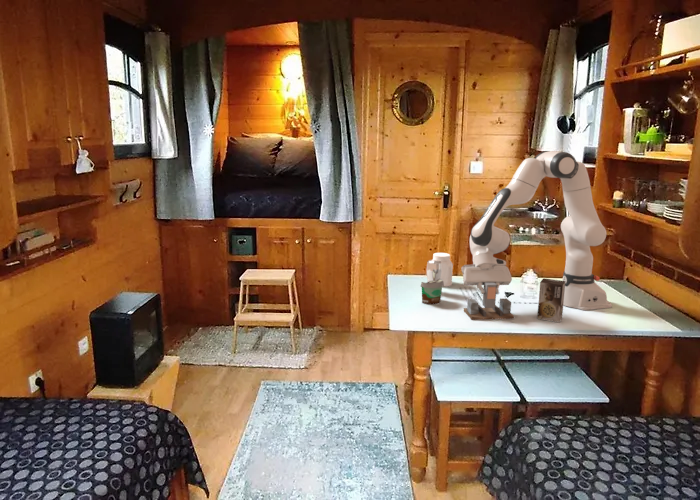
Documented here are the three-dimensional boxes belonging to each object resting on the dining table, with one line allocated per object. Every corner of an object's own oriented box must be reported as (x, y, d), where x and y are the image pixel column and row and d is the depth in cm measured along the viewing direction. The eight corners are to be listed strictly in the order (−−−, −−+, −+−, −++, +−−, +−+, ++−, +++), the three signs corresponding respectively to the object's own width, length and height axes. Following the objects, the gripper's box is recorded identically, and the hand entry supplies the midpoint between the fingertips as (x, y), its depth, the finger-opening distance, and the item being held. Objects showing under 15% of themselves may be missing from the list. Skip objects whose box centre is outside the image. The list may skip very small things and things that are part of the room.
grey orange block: (491, 304, 231) (493, 282, 229) (495, 308, 227) (497, 285, 225) (482, 304, 231) (484, 282, 229) (485, 308, 227) (487, 285, 224)
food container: (430, 307, 239) (431, 285, 236) (419, 303, 243) (420, 282, 241) (448, 301, 246) (449, 280, 244) (438, 298, 251) (439, 277, 249)
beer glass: (440, 295, 256) (441, 264, 252) (425, 293, 257) (426, 263, 254) (440, 290, 262) (442, 260, 259) (426, 289, 264) (427, 259, 260)
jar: (429, 285, 270) (430, 256, 266) (428, 280, 279) (429, 251, 276) (452, 286, 269) (454, 257, 265) (450, 281, 278) (452, 252, 275)
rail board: (504, 309, 236) (505, 296, 235) (513, 318, 226) (515, 304, 224) (463, 310, 235) (464, 296, 233) (471, 319, 224) (472, 305, 223)
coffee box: (562, 318, 227) (566, 281, 223) (559, 323, 221) (563, 284, 218) (539, 314, 231) (543, 277, 228) (536, 318, 226) (539, 281, 222)
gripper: (462, 261, 231) (467, 290, 224) (509, 260, 233) (516, 289, 225) (458, 268, 236) (463, 297, 229) (504, 268, 238) (511, 296, 231)
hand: (490, 293), depth 227 cm, fingers closed on grey orange block, 4 cm apart
